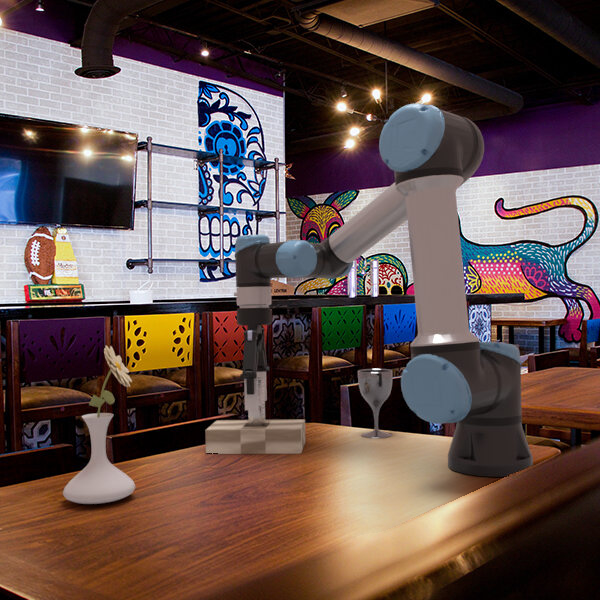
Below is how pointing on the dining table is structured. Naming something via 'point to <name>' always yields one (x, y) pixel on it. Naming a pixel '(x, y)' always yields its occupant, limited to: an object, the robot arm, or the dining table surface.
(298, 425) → the hole block
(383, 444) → the dining table surface
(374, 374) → the wine glass
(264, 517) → the dining table surface
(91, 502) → the flower in vase
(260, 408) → the peg
